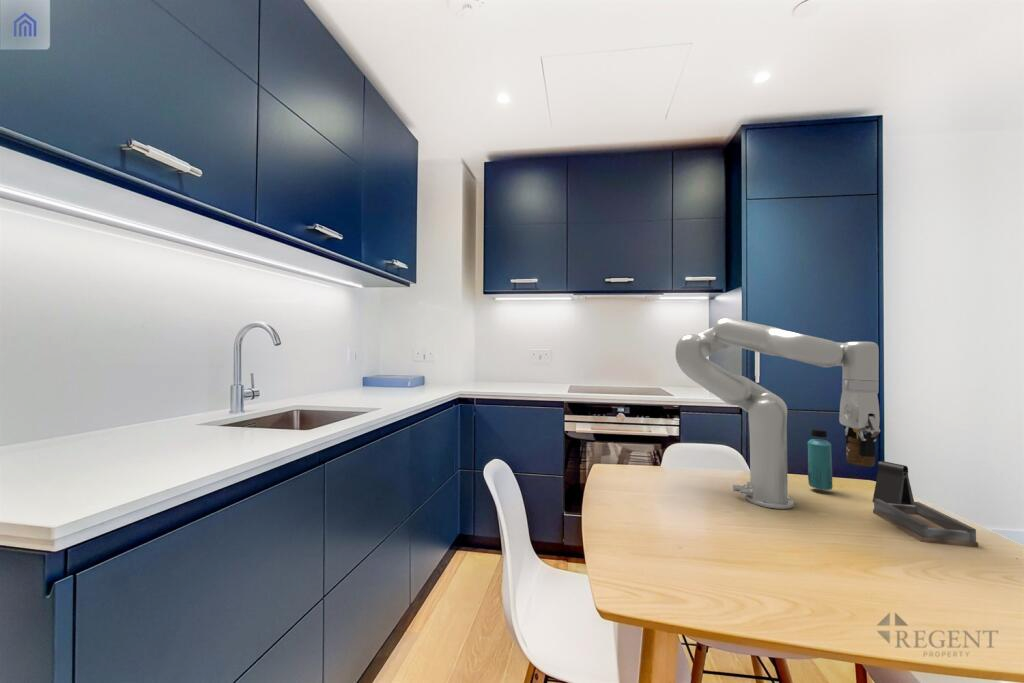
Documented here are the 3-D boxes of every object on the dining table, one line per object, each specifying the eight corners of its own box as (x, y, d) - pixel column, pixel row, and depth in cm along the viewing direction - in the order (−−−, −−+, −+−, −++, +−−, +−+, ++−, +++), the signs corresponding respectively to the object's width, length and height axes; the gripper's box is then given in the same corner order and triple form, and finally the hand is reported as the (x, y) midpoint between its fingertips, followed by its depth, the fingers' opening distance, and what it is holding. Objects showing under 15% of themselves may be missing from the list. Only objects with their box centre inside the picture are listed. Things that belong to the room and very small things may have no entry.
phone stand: (890, 498, 126) (889, 459, 126) (914, 505, 120) (914, 464, 120) (872, 502, 122) (871, 462, 123) (897, 509, 117) (896, 467, 117)
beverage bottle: (838, 495, 128) (837, 431, 129) (817, 494, 129) (816, 431, 129) (822, 488, 135) (822, 427, 136) (802, 487, 135) (801, 427, 136)
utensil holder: (878, 465, 109) (878, 420, 110) (870, 468, 106) (870, 422, 106) (851, 460, 114) (851, 417, 114) (842, 462, 111) (842, 418, 111)
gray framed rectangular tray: (920, 541, 97) (920, 524, 97) (873, 512, 114) (872, 498, 114) (977, 546, 94) (977, 529, 94) (920, 516, 111) (919, 502, 112)
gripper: (827, 383, 120) (827, 445, 120) (862, 388, 103) (862, 460, 103) (857, 384, 118) (857, 447, 118) (898, 390, 101) (897, 462, 101)
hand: (859, 452), depth 110 cm, fingers closed on utensil holder, 5 cm apart
